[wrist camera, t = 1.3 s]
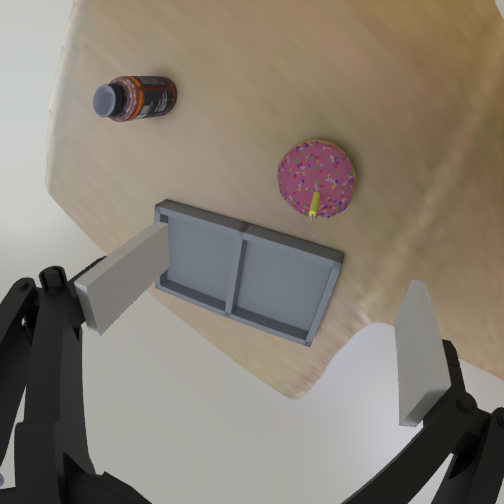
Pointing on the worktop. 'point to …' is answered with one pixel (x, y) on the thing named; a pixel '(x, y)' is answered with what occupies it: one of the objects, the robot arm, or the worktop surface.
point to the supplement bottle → (134, 98)
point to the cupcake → (317, 178)
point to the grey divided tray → (247, 271)
